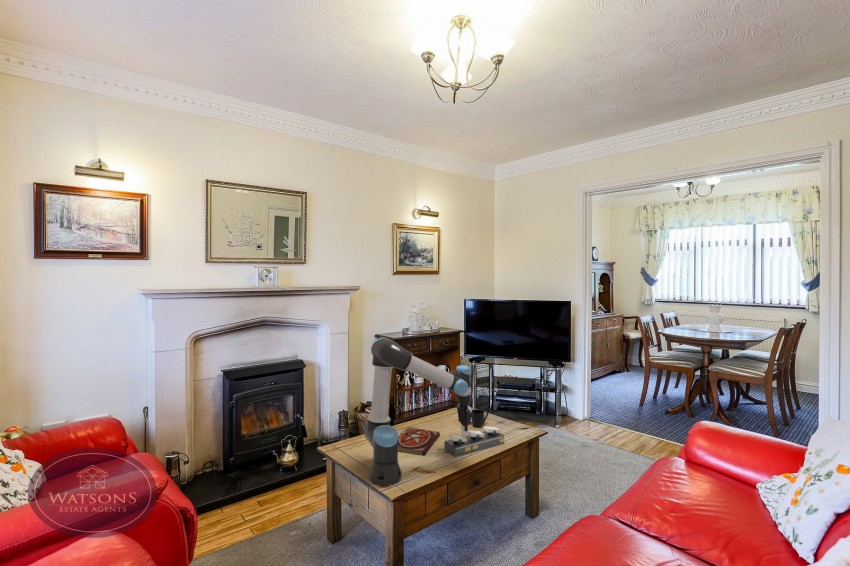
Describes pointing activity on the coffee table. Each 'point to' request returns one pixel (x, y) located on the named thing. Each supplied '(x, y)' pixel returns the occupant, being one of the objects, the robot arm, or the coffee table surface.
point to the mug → (478, 418)
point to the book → (416, 440)
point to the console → (474, 444)
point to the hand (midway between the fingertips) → (464, 436)
